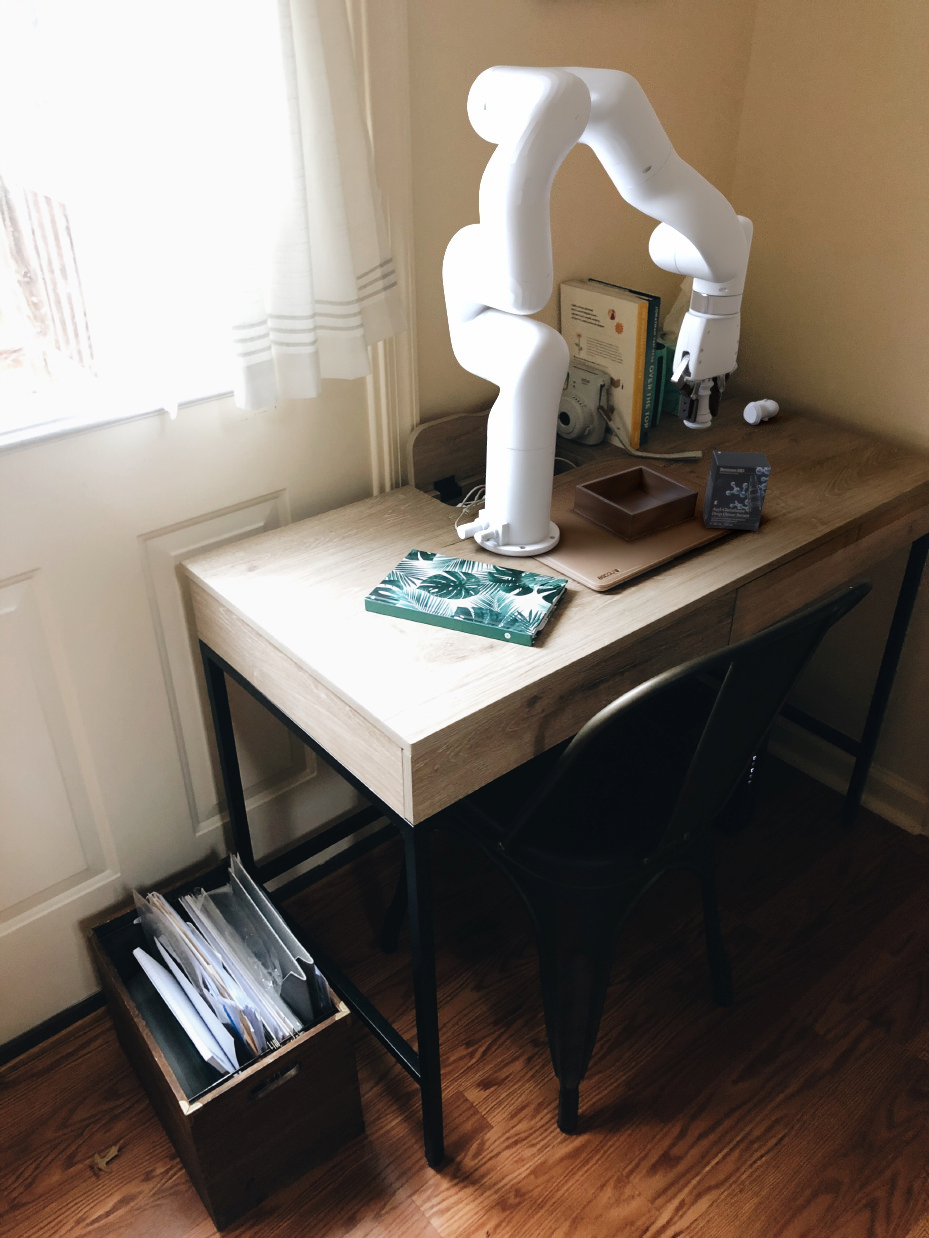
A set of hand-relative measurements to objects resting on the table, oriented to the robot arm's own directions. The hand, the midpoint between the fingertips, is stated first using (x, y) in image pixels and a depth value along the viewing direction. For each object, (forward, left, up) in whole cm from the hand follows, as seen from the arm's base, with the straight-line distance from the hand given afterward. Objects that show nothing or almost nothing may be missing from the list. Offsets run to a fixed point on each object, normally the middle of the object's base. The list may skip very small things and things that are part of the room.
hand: (698, 416), depth 155 cm
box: (-8, -16, -11) cm, 20 cm away
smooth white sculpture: (+31, +11, -11) cm, 35 cm away
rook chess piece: (0, 0, -2) cm, 2 cm away
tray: (-18, -5, -11) cm, 22 cm away
